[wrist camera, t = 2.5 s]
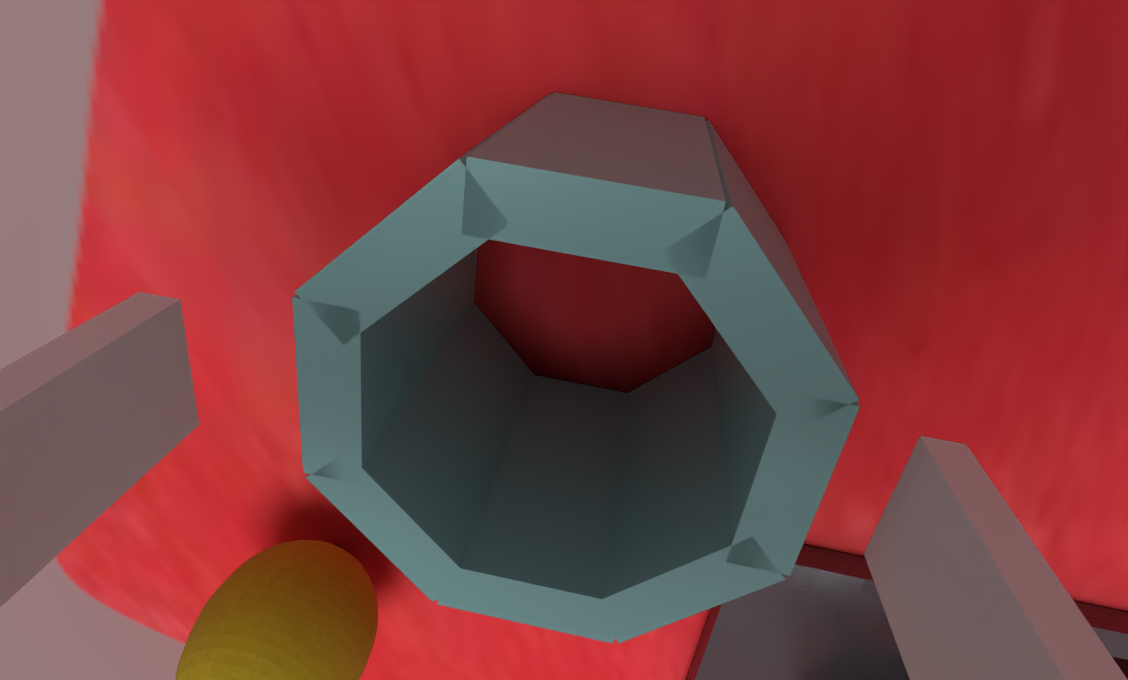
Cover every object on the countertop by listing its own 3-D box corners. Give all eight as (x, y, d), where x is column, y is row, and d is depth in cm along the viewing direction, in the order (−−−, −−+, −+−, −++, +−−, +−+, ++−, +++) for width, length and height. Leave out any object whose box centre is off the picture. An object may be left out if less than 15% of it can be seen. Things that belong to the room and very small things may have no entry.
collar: (819, 135, 16) (930, 237, 9) (724, 445, 21) (749, 673, 14) (445, 73, 17) (281, 124, 10) (430, 387, 21) (309, 576, 14)
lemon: (270, 579, 27) (125, 785, 20) (273, 476, 24) (108, 671, 17) (400, 618, 27) (301, 839, 20) (418, 518, 24) (311, 732, 17)
